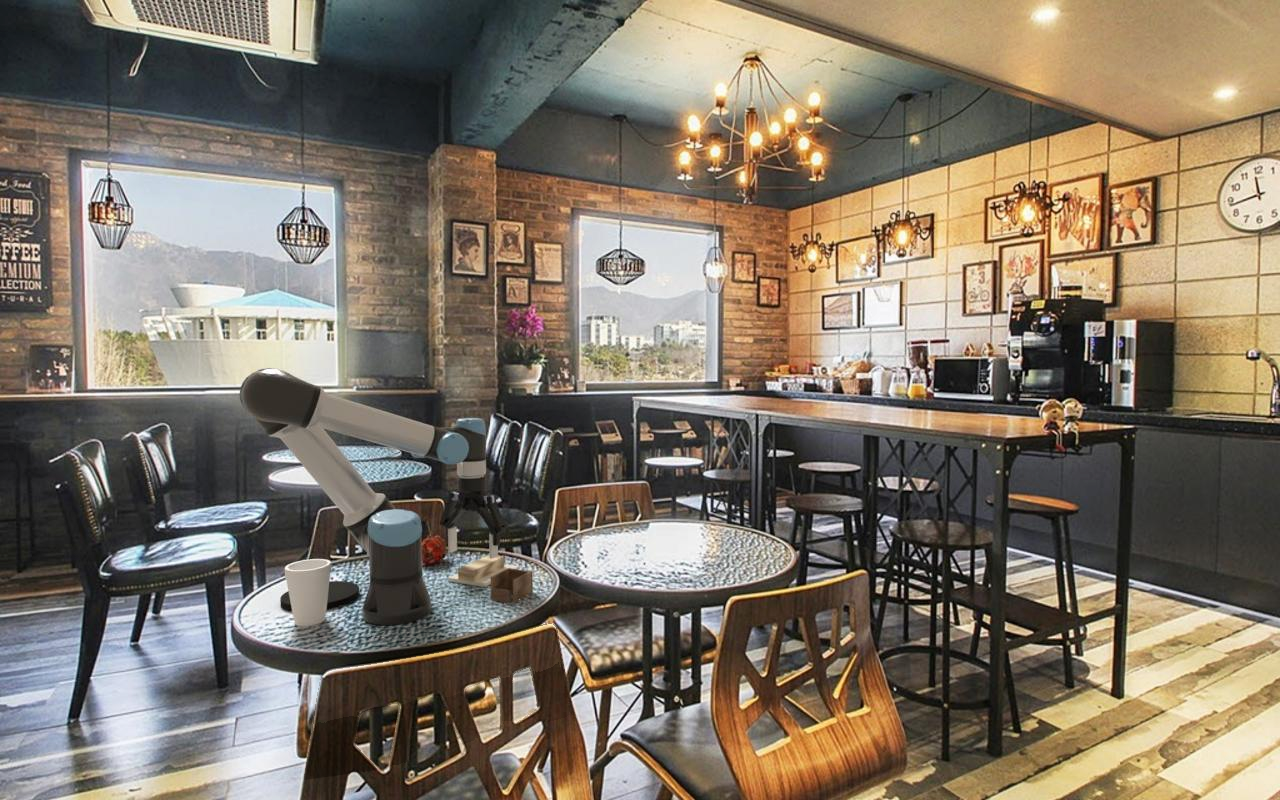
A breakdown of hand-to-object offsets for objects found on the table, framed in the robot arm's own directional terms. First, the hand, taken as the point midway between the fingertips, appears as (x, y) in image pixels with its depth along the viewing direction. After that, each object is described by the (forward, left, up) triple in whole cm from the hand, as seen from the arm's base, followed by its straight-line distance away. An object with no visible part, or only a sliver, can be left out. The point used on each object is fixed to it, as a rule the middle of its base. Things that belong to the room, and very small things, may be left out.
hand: (472, 554), depth 183 cm
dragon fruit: (-12, +20, -7) cm, 24 cm away
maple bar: (+2, +3, -6) cm, 7 cm away
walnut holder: (+9, -15, -7) cm, 19 cm away
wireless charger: (-37, -5, -8) cm, 38 cm away
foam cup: (-36, -20, -7) cm, 42 cm away
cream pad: (+3, +4, -7) cm, 9 cm away
